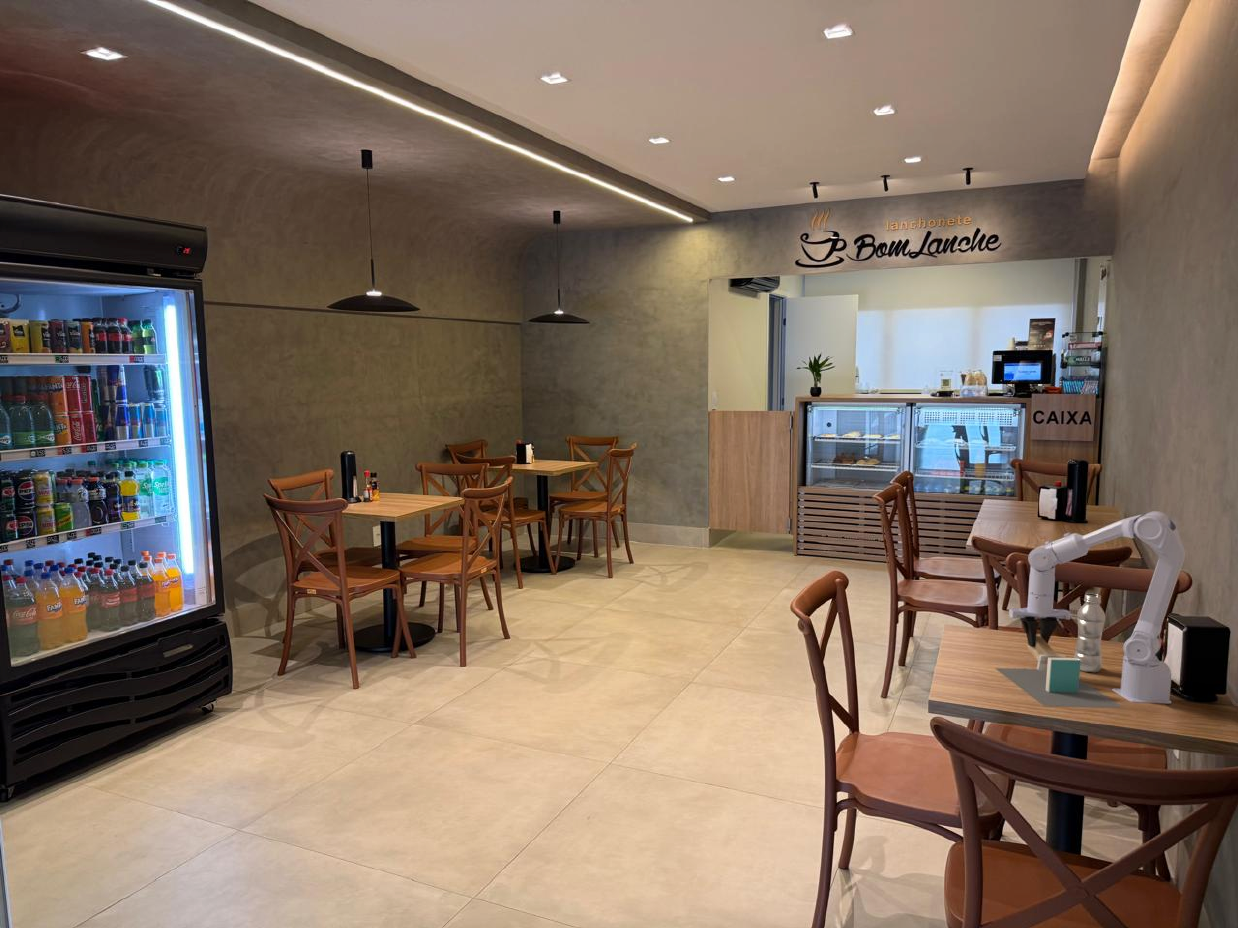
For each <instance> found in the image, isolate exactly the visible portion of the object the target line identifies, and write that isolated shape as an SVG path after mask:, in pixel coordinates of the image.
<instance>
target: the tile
mask: <svg viewBox="0 0 1238 928" xmlns="http://www.w3.org/2000/svg"><path fill="white" fill-rule="evenodd" d="M1080 662H1081V661H1080V659H1078V658H1074V657H1066V658H1048V664H1047V678H1046V691H1048V692H1069V693H1078V688H1079V679H1080V674H1081V670H1080Z"/></svg>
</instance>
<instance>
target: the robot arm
mask: <svg viewBox="0 0 1238 928" xmlns="http://www.w3.org/2000/svg"><path fill="white" fill-rule="evenodd" d="M1121 537H1123V538H1127V539H1128V538H1129V539H1135V538H1136V537H1137V538H1138V539H1139V540H1141V542H1143V543H1145V544H1146V545H1148V546H1149V547H1151V549H1152V550H1153V552H1154V553H1155V554H1156V555H1157V557H1158V559H1157V563H1156V566H1155V568H1154V572H1153V575H1152V578H1151V581H1150V584H1149V587H1148V590H1147V593H1146V595H1145V599H1144V602H1143V606H1142V608H1141V611H1140V615H1139V617H1138V620H1137V623H1136V624H1135V627H1134V628H1133V632H1132V633H1131V635H1130V637H1129V638H1128V639H1126V641H1124V643H1123V646H1122V649H1123V653H1124V655H1123V658H1122V669H1121V679H1120V680H1121V681H1120V688H1112V690H1111V691H1113V692H1115V693H1116V694H1118V695H1119V696H1121V697H1122V698H1124V699H1126V700H1127V701H1129V702H1131V703H1145V704H1148V703H1150V704H1151V703H1152V704H1155V703H1156V704H1167V705H1168V704H1169V705H1170V704H1172V700H1170V698H1171V697H1170V696H1171V687H1172V672H1171V669H1170V667H1169V665H1168V663H1166V662H1164V661H1162V660H1159V658H1158V656H1157V655H1156V654H1157V653H1158V652H1159V651H1160V650H1161V646H1162V641H1161V632H1162V627H1163V626H1162V625H1163V622H1164V620H1165V616H1166V614H1167V611H1168V608H1169V606H1170V603H1171V602H1170V601H1171V599H1172V596H1173V593H1174V589H1175V587H1176V584H1177V581H1178V578H1179V576H1180V572H1181V569H1182V566H1183V563H1184V561H1185V557H1186V550H1185V547H1184V545H1183V542H1182V540H1181V536H1180V533H1179V531H1178V526H1177V524H1176V523H1175V522H1174V521H1173V519H1172V518H1171V517H1170V516H1169V515H1167V514H1166V513H1164V512H1162V511H1159V510H1154V511H1149V512H1147V513H1146V514H1144V515H1143V514H1138V515H1134V516H1130V517H1126V518H1123V519H1121V520H1117V521H1116V522H1113V523H1110V524H1108V525H1105V526H1103V527H1101V528H1099V529H1096V530H1094V531H1091V532H1089V533H1087V534H1084V535H1082V534H1079V533H1076V532H1075V533H1071V532H1067V533H1065V534H1063V537H1062V538H1059V539H1056V540H1053V541H1050V540H1049V541H1046V542H1044V544H1045V545H1043V544H1042V545H1041V546H1037V547H1035V548H1034V549H1032V550H1031V551H1030V552H1029V554H1028V555H1027V556H1028V557H1027V558H1028V559H1027V560H1028V564H1029V565H1030V571H1029V577H1028V578H1029V580H1028V596H1027V607H1023V608H1021V607H1020V608H1009V611H1008V612H1009V613H1008V617H1009V618H1010V619H1019V620H1020V622H1021V623H1022V626H1023V628H1024V631H1025V633H1026V638H1027V646H1028V645H1029V646H1031V647H1035V643H1036V634H1037V632H1038V628H1040V630H1039V631H1040V633H1039V634H1040V636H1041V637H1042V638H1043V639H1044V640H1045V641H1046V643H1047V644H1048V645H1049V641H1050V638H1051V636H1052V634H1053V633H1054V631H1055V630H1056V628H1058V626H1059V623H1060V622H1059V620H1057V619H1060V620H1061V619H1063V620H1071V614H1072V613H1071V611H1069V610H1068V609H1056V608H1055V609H1054V597H1055V596H1054V595H1055V583H1056V581H1055V580H1056V576H1055V575H1056V574H1055V573H1056V566H1057V565H1058V564H1059V565H1062V564H1065V563H1068V562H1071V561H1073V560H1075V559H1079V558H1080V557H1083V556H1087V555H1088V552H1089V550H1090V548H1092V547H1095V546H1098V545H1100V544H1102V543H1103V544H1104V543H1107V542H1110V541H1112V540H1115V539H1119V538H1121ZM1036 619H1039V621H1037V620H1036ZM1039 625H1040V627H1039Z"/></svg>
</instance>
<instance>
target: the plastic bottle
mask: <svg viewBox="0 0 1238 928" xmlns="http://www.w3.org/2000/svg"><path fill="white" fill-rule="evenodd" d="M1083 601H1084V603H1083V605H1081V606H1080V608H1079V609H1078V611H1077V613H1076V615H1077V616H1076V617H1077V643H1076V648H1075V651H1074V654H1073V655H1074V656H1073V658H1078V659H1080V661H1081V662H1080V672H1081V671H1082V672H1086V673H1099V671H1101V669H1102V666H1103V657H1102V636H1103V631H1104V626H1105V622H1106V614H1105V611H1104V609H1103V608H1102V607H1101V605H1100V604H1102V595H1100V594H1097V593H1091V592H1090V593H1084V598H1083Z"/></svg>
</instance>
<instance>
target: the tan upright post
mask: <svg viewBox="0 0 1238 928" xmlns="http://www.w3.org/2000/svg"><path fill="white" fill-rule="evenodd" d="M1026 646H1027V650H1028V651H1029V652H1030V654H1032V656H1033V657H1034V658H1035V659H1036V660H1037V664H1036V665H1037V666H1036V669H1038V670H1047V664H1048V658H1067V656H1066V655H1065V654H1057V653H1056V652H1055V650H1054V649H1053V648H1052V647H1051V646H1050V645H1049V643H1048V644H1047V643H1046V641H1045V640H1044V639H1043V638H1042V637H1041V636H1040V633H1038V634H1037V633H1036V643H1035V647H1031V646H1029V645H1028V644H1027V645H1026Z"/></svg>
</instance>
